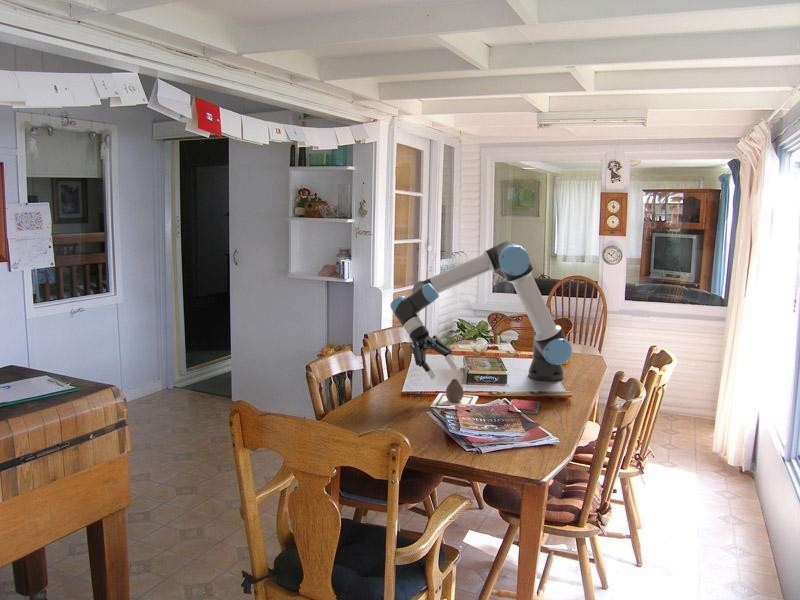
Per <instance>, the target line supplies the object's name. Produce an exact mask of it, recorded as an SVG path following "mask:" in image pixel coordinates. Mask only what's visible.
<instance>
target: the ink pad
mask: <svg viewBox="0 0 800 600" xmlns="http://www.w3.org/2000/svg"><path fill="white" fill-rule="evenodd" d="M510 403H511V404H512V405H514V406H515V407H516V408H517V409H518V410H520V411H521V412H523V413H522V414H528V415H529V414H530V415H538V414H539V413H538V412H539V409H540V404H541V403H540V401H535V400H526V399H516V398H515V399H511V400H510Z"/></svg>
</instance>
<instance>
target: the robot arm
mask: <svg viewBox="0 0 800 600" xmlns="http://www.w3.org/2000/svg"><path fill="white" fill-rule="evenodd" d="M530 259H531V258H530V254H529V252H528V251H527V249H525V247H523V246H522V245H519V244H518V243H516V242H515V241H510V240H507V241H503V242H500V243H499V244H496V245H494V246H492V247H491V248H489V249H487V250H484V251H483V254H480V255H479V256H477V257H474V258H471V259H470V260H468V261H465V262H463V263H461V264H458V265H457V266H454V267H452V268H449V269H448V270H445V271H443V272H440V273H439V274H438V273H437V274H436V275H434V276H432V277H430V278H427V279H424V280H419V281H417V282H415V283H414V284H413V286H412V287H413V288H412V294H411V295H409V296H408V297H406V296H405V295H400V296H398V297H396V298H395V299H393V300H392V301H391V303H390V306H389V307H390V309H391V311H392V312H393V314H394V316H395V317H396V319H397V320H398V322H399V323H400V325H401V326H402V328H403V329H404V330H405V332H406V334H407V335H409V338H410V339H411V341H412V343H411V344H410V347H411V349H412V353H413V356H414V362H415V365H416V366H418V367H420V368H423V370H424V371H425V372H426V373H427V375H428V376H429V378H430V379H431V380H433V379H435V377H436V376H437V373H436V372H435V370H434V369H433V368H432V366H431V364H430V363H429V362H428V361H426V360H427V357H426V356H427V353H426V352H427V351H429V350H431V351H434V352H437V353H438V354H440V355H442V356H443V357H444V360H445V361H446V362H447V364H448V365H449V367H450V368H451V370H452V371H453V372H454V371H455V372H456V370H458V368H459V366H458V365H457V363H456V361H455V359H454V357H453V356H452V352H453V350H452V348H450V347H449V346H448V345H447V344H446V343H444V342H443V341H441V339H439V338H438V337H437V335H432V337H431V336H430V331H429V330H428V329H427V327H426V326H425V325H424V322H423V321H422V320H421V318H420V317H419V315H418V313H419V312H421V311H422V310H424V309H425V308H427V307H428V306H429V305H431V304H432V303H435V301H436V300H437V299H438V298H439V297H440V295H439V294H440V293H443V292H445V291H447V290H450V289H452V288H454V287H456V286H459V285H461V284H463V283H466V282H467V281H470V280H473V279H475V278H477V277H479V276H482V275H485V274H486V273H488V272H493V273H494V272H497V271H499V270H501V271H502V273H503V276H504V277H505V280H506V282H508V283H510V284H512V286H513V288H514V289H515V292H516V294H517V297H518V298H519V300H520V302H521V304H522V307H523V309H524V311H525V312H526V315H527V317H528V320H529V321H530V324H531V325H532V328H533V350H532V351H533V353H532V360H531V363H530V366H529V368H528V376H529V377H530V378H531V379H534V380H538V381H544V382H555V381H559V380H562V379H563V378H564V375H565V372H564V368H563V364H565V363H567V361H568V360H569V359H570V358H571V356H572V352H573V347H572V345H571V343H570V341H569V340H567V338H566V336H565V333H564V331H563V330H562V325H561V326H560V325H558V324H556V323H555V321H554V319H553V317H552V314H551V312H550V310H549V308H548V306H547V303H546V302H545V299H544V296H542V294H541V291H540V289H539V287H538V285H537V282H536V280H535V279H534V276H533V271H534V267H533V265H532V263H531V260H530Z"/></svg>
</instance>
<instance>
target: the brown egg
mask: <svg viewBox="0 0 800 600" xmlns="http://www.w3.org/2000/svg"><path fill="white" fill-rule="evenodd" d="M445 393H446V397H447V399H448V400H449V401H450V402H452V403H458V402H460V401H461V400H462V398H463V395H464V388H463V386H462V384H461V383H460V382H459V380H458V379H457V378H453V379H451V381H450V382H449V384H447V387H446V389H445Z"/></svg>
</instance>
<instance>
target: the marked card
mask: <svg viewBox="0 0 800 600" xmlns="http://www.w3.org/2000/svg"><path fill="white" fill-rule="evenodd" d="M478 399H479V396H477V395H470V394H469V395H467V394H463V398H462V400H461V401H460V402H458V403H452V402H450V401H449V400H448V399H447V397H446V392H445V393H444V392H439V394H438V395H437V396H436V398H435V399H434V400H433V401H432V404H431V405H430V406H429V408H430V407H435V406H450V405H460V404H475V405H476V403H477V402H478Z"/></svg>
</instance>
